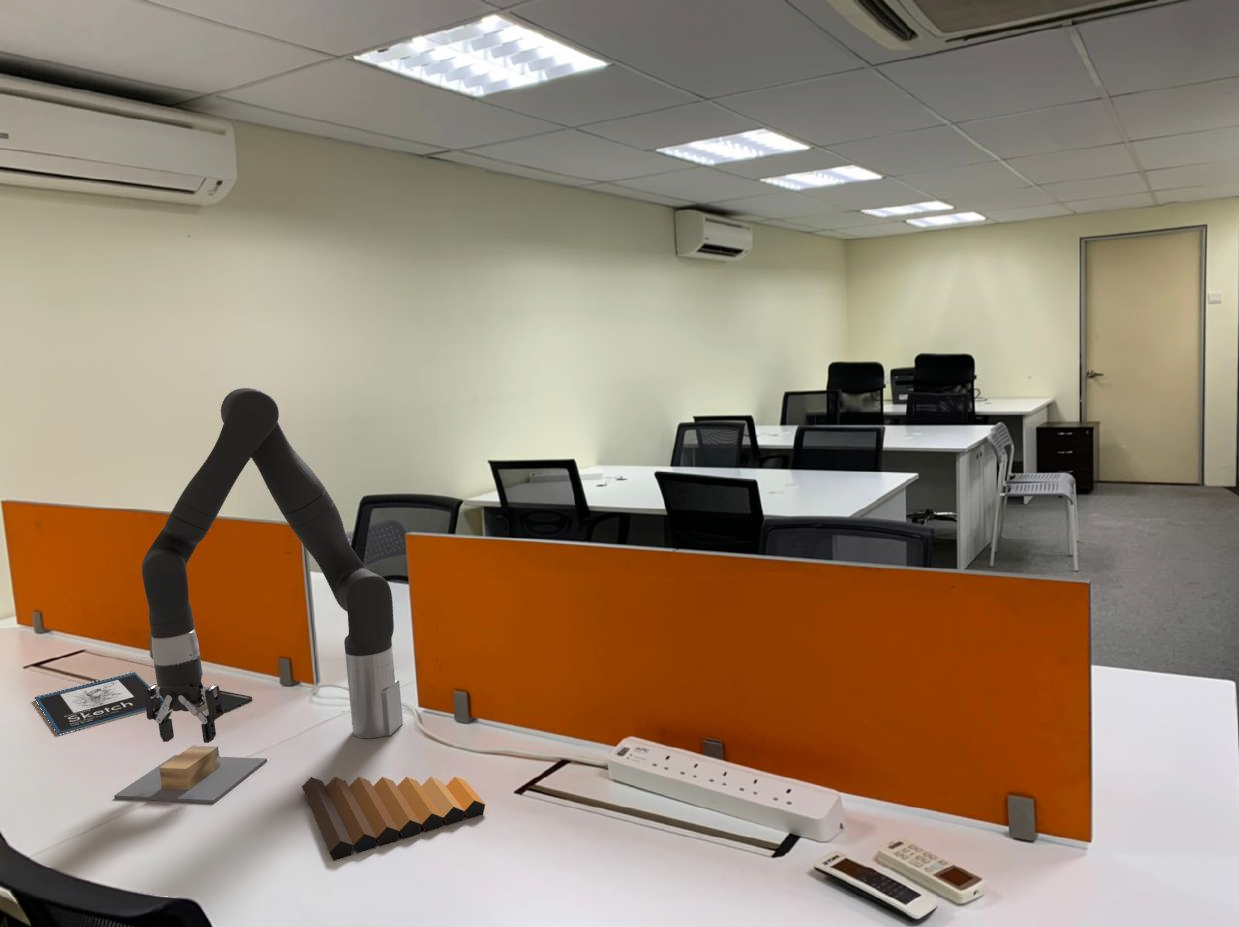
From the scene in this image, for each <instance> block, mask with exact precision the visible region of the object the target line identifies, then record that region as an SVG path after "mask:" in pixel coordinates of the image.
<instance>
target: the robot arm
mask: <svg viewBox="0 0 1239 927" xmlns="http://www.w3.org/2000/svg"><path fill="white" fill-rule="evenodd" d="M220 417H221V421H222V423H223V425H222V427H221V430H220V433H219V435H218V437H217V439H216V442H215V444H214V446H213V448H212V450H211V451H210V453H209V454H208V457H207V458H206V459H205V461H204V462H203V464H202V465H201V466H200V468H199V469H198V470H197V471H196V473H195V474H194V475H193V476H192V478H191V480H190V481H189V482H188V484H187V485H186V486H185V488H184V490H183V491H182V493H181V494H180V496H179V498H178V500H177V501H176V503H175V505H174V507H173V509H172V510H171V512H170V513H169V516H168V518H167V520H166V522H165V525H164V527H163V528H162V530H161V531H160V532H159V533H158V535H157V537H156V538H155V540H154V541H153V542H152V544H151V545H150V547H149V549H148V551H147V552H146V554H145V556H144V557H143V560H142V562H141V575H142V576H141V577H142V581H143V587H144V591H145V596H146V599H147V604H148V620H149V627H150V635H151V652H152V659H153V668H154V671H155V672H154V674H155V679H156V683H155V684H154V683H153V685H151V686H150V687H149V688H147V689H145V691H144V693H145V703H146V712H145V713H146V718H147V719H148V720H149V721H152V720H154V721H155V722H156V724H158V730H159V736H160V738H161V739H162V742H163V743H165V742H166V743H168V742H170V741H171V740H172V739H174V737H175V733H174V727H173V719H172V718H170V717H171V716H172V714H173V712H179V711H183V712H190V714H191V715H193V716H194V717H197V719H198V720H199V721H200V722H201V724H200V726H201V732H202V733H201V734H202V741H203V743H204V744H209V743H211V742H212V741H214V739H215V738H216V736H217V731H216V723H215V721H216V720H218V719H219V718H220V717H222V716H223V715H224V714H225V713H224V710H223V705H222V700H221V695H220V690H221V689H220V686H219V685H218V684H214V685H211V686H204V685H203V683H202V677H203V669H202V661H201V653H200V645H199V640H198V637H197V636H198V635H197V633H196V630H195V629H196V628H195V621H194V614H193V609H192V606H191V603H190V596H189V593H190V592H189V581H188V570H187V565H188V563H189V560H190V559H191V558H192V555H193V553H194V552H195V549H196V547H197V546H198V544H199V543H201V542H202V541H203V539H205V537H206V535H207V534H208V533H209V530H210V529H211V527H212V525H213V524H214V522H215V520H216V518H217V517H218V514H219V513H220V512H221V509H222V507H223V505H224V504H225V501H226V500H227V497H228V496H229V494H230V492H231V491H232V488H233V487H234V485H235V483H236V481H237V480H238V478H239V476H240V474H241V473H242V472H243V470H244V468H246V465H247V464H248V462H249V461H250V460H252V461H253V463H254V464H255V465H256V468H257V469H258V471H259V473H260V475H261V477H262V479H263V481H264V483H265V485H266V487H267V489H268V491H269V493H270V494H271V496H272V498H273V500H274V502H275V504H276V505H277V507H278V509H279V511H280V513H281V514H282V515H283V517H284V519H285V520H286V522H287V524H288V525H289V527H290V528H291V529H292V531H293V532H294V534H295V535H296V536H297V538H298V539H299V541H300V542H301V544H302V545H303V546H304V548H305V549H306V550H307V551H308V552H309V554H310V555H311V557H313V559H314V561H315V562H316V563H317V565H318V566H319V568H320V570H321V572H322V574H323V576H324V578H325V580H326V582H327V584H328V586H329V588H330V590H331V593H332V594H333V596H334V599H335V601H336V602H337V604H338V605H339V607H340V608H341V609H342V610H343V611H345V612H347V624H348V625H347V626H348V635H346V637H345V638H344V640H343V641H344V645H343V646H344V654H345V664H346V676H347V685H348V696H349V705H350V715H351V726H352V734H353V735H354V737H357V738H361V739H374V738H381V737H384V736H385V737H386V736H388V737H389V736H392V735H393V734H394V733H395V732H396V731H397V730H398V729H399V728H400V727H401V726H402V725H403V724H404V719H403V709H402V708H403V707H402V696H401V687H400V686H401V685H400V681H399V679H396V677H395V676H396V675H395V665H394V655H393V654H394V653H393V643H392V642H393V641H392V639H393V635H394V631H395V630H394V629H395V627H394V626H395V624H394V623H395V622H394V606H393V605H394V604H393V594H392V590H391V586H390V583H389V582H388V581H387V580H386V579H385V578H384V577H383V576H381V575H380V574H378V573H375V572H372V571H371V570H370V569H368V568H367V566H366V565H365V564H364V563H363V562H362V561H361V559H360V558H359V556H358V555H357V553H356V552H355V550H354V549H353V547H352V546H351V544H350V542H349V540H348V536H347V533H346V530H345V526H344V522H343V521H342V517H341V515H340V511H339V510H338V507H337V506H336V504H335V502H334V500H333V499H332V497H331V495H330V494H329V492H328V490H327V488H326V487H325V486H324V483H322V481H321V480H320V479H319V478H318V476H317V475H316V474H315V473H314V471H313V470H312V468H311V467H310V466H309V465H308V464H307V462H305V461H304V460H303V458H301V456H300V455H299V453H297V452H296V451H295V449H294V448H293V446H292V445H291V444H290V442H289V441H288V439H287V437H286V436H285V433H284V431H283V429H282V428H281V426H280V424H279V417H280V411H279V407H278V404H277V402H276V401H275V400H274V398H273V397H272V396H271V395H269V393H267V392H265V391H263V390H260V389H256V388H251V387H241V388H237V389H234V390H232V391H231V392H229V393H228V394H227V395H226V396H225V397H224V399H223V401H222V403H221V406H220ZM203 695H204V697H203ZM160 697H161V698H162V699H163V700H164V703H163V705H162V706H161V700H160ZM198 704H200V705H201V707H196V706H197V705H198ZM153 707H154V708H153ZM215 708H216V709H215Z"/></svg>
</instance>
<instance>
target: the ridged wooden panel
mask: <svg viewBox="0 0 1239 927" xmlns="http://www.w3.org/2000/svg"><path fill="white" fill-rule="evenodd" d="M301 789H302V791H303V794H304V796H305V798H306V801H307V802H308V805H309V808H310V810H311V812H312V814H313V817H314V819H315V822H316V824H317V827H318V830H319V831H320V833H321V836H322V838H323V840H324V843H325V845H326V849H327V851H328V852H329V854H330V857H331V859H332V860H333V862H335V861H339V860H341V859H344V858H348V857H351V856H352V853H353V848H354V849H355V851H356V854H359V853H363V852H366V851H371V850H374V849H375V847H376V843H377V841H378V844H379V845H380V847H383V846H386V845H390V844H393V843H396V842H398V840H399V835H400V836H401V838H402V839H403V840H405V839H408V838H412V837H415V836H418V835H420V833H421V829H423V831H424V832H425V833H427V832H432V831H434V830H437V829H441V828H442V825H443V822H444V823H445V825H446V826H450V825H453V824H454V825H455V824H457V823H460V822H462V821H463V820H464V816H465V817H466V818H467V820H470V819H473V818H476V817H479V816H482V815H484V811H485V807H486V804H485V803H484V801H483V800H482V799H481V798H480V796H479V795H478V794H477V792H475V790H474V789H473V788H472V787H471V785H470V784H469V783H468V782H467V780H464V779H463V778H459V777H457V776H454V777H453V778H452V779H451V780H450V781H449V782H448V783H447V784H446V785H445V783H443V781H442V780H440V779H438V778H435V777H432V776H429V778H427V780H426V781H425V782H424V783H422V784H420V783H419V781H418V780H416V779H413V778H411V777H408V776H405V777H404V778H403V780H402V781H401V782H400V783H399V784H398V785H397V784H396V783H395V781H394V780H392V779H390V778H387V777H384V776H381V777H380V778H379V780H378V781H376V783H375V784H374V785H373V784H372V783H371V781H370V780H368V779H366V778H363V777H361V776H358V777H357V778H356V779H355V780H353V781H352V783H351V784H350V785H349V784H348V783H347V780H345V779H342V778H339V777H336V776H334V777H333V778H332V779H331V780H330V781H329V782H328V783H326V785H325V783H324V781H323V780H321V779H318V778H316V777H314V776H310V778H308V779H307V781H305V783H303V784H302V786H301Z"/></svg>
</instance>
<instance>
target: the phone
mask: <svg viewBox="0 0 1239 927" xmlns="http://www.w3.org/2000/svg"><path fill="white" fill-rule="evenodd" d="M219 690H220V695H221V700H222V705H223V710H224V714H225V713H230V712H231V711H234V710H236V709H238V708H240V707H243V706H245V705H248V704H250V703H252V702H253V700H254V699H253V697H252V696H249V695H245V694H241V693H240V694H239V693H234V692H230V691H224V690H221V689H219ZM203 697H204V695H203ZM196 707H197V708H199V707H201V705H200V704H198V705H197V706H196ZM215 709H216V708H215Z"/></svg>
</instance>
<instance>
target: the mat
mask: <svg viewBox="0 0 1239 927" xmlns="http://www.w3.org/2000/svg"><path fill="white" fill-rule="evenodd" d="M178 755H179V754H174V755H173V756H171V757H170V758H168V759H167V760H165V761H164V762H162V763H161V764H159V765H158V766H156V767H155V768H153V769H152V770H150V771H149V772H147V773H146V774H145V775H143V776H141V777H140V778H138V779H137V780H135V781H134V782H132V783H131V784H129V785H127V786H126V787H125V788H123V789H121V790H120V791H119V792H117V793H116V794H114V796H113V798H114V799H115V800H116V799H118V800H134V801H135V800H138V801H154V802H155V801H156V802H175V803H176V802H178V803H180V802H181V803H193V804H194V803H197V804H215V803H217V802H218V801H220V799H222V798H223V797H224V796H225V795H226V794H228V793H229V792H230V791H232V790H233V789H235V788H236V787H237V786H239V784H241V783H242V782H243V781H245V780H246V779H247V778H248V777H250V776H251V775H252V774H253V773H254V772H256V771H257V770H259V768H260V767H262V766H263V765H264V764H266V763H267V762H268V759H267V758H262V757H240V756H239V757H235V756H219V758H220V768H218V769H217V770H215V771H214V772H213V773H211V774H210V775H209V776H207V777H206V778H205V779H203V780H202V781H201V782H199V783H198V784H197V785H195V786H194V787H192V788H191V789H190V790H176V789H162V785H161V777H160V769H159V768H160V767H161V766H163V765H164V764H166V763H167V762H169V761H170V760H172V759H173V758H175V757H176V756H178Z"/></svg>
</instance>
